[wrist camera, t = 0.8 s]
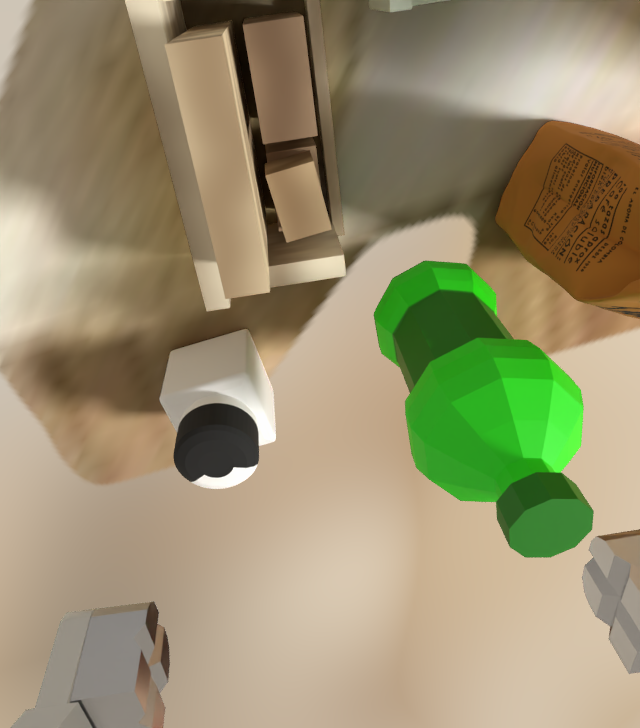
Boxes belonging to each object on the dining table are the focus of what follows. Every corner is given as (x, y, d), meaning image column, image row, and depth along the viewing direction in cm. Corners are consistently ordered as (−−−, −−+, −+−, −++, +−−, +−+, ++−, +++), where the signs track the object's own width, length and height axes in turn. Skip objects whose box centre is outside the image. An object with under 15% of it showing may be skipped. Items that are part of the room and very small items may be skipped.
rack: (311, -51, 35) (329, -63, 27) (341, 232, 45) (362, 287, 37) (149, -26, 35) (116, -31, 27) (215, 251, 45) (206, 311, 37)
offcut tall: (294, 10, 37) (303, 15, 30) (307, 111, 40) (317, 135, 34) (244, 18, 37) (242, 25, 30) (261, 118, 40) (263, 144, 33)
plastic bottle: (421, 370, 53) (531, 618, 32) (338, 304, 49) (403, 542, 28) (507, 294, 50) (693, 516, 29) (426, 215, 45) (577, 410, 24)
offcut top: (309, 150, 37) (313, 161, 34) (327, 215, 39) (331, 229, 37) (264, 163, 37) (265, 175, 35) (284, 227, 39) (286, 242, 37)
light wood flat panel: (232, 20, 37) (221, 35, 24) (265, 204, 43) (270, 292, 31) (194, 26, 37) (164, 44, 24) (233, 209, 43) (225, 299, 31)
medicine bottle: (168, 349, 49) (147, 441, 39) (248, 326, 49) (247, 413, 39) (200, 412, 53) (188, 511, 43) (274, 391, 53) (279, 485, 43)
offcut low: (309, 129, 41) (315, 145, 37) (318, 202, 44) (325, 224, 40) (264, 136, 41) (265, 153, 37) (276, 208, 44) (279, 231, 40)
